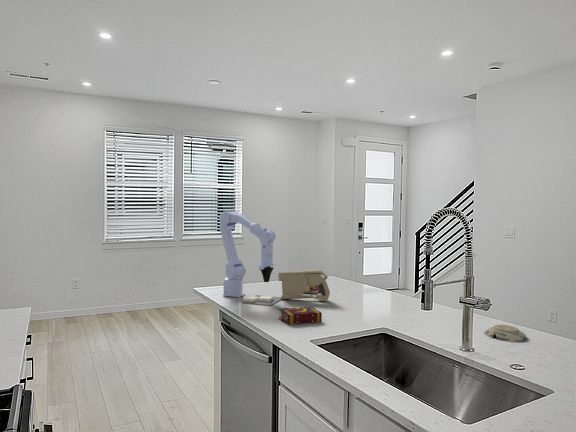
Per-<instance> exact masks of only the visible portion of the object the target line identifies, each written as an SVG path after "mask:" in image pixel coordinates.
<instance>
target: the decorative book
mask: <svg viewBox="0 0 576 432" xmlns="http://www.w3.org/2000/svg"><path fill="white" fill-rule="evenodd" d="M279 311H280V315H279V316H278V320H282V321H283V322H284V323H286V324H287V325H297V326H298V325H301V324H316V323H322V322H323V321H322V320H323V317H322V314H323V313H322V312H321V311H319V310H318V309H316V307H314V306H313V305H312V306H311V305H310V306H309V305H307V306H301V307H300V306H299V307H298V306H294V307H282V308H281V307H280V308H279Z"/></svg>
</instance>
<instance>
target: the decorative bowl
mask: <svg viewBox="0 0 576 432" xmlns="http://www.w3.org/2000/svg"><path fill="white" fill-rule="evenodd" d="M483 334H484V335H485V336H486V337H488V338H489V339H493V338H494V335H495V337H496V341H501V342H507V343H523V342H526V341H529V340H528V339H529V338H528V336H527V335H526V334H525V333H524V332H523V331H521V330H519V329H518V328H517V327H515V326H512V325H507V324H495V325H494V326H492V327H490V328H488V329H486V330H485V332H484V333H483Z"/></svg>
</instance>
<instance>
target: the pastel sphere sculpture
mask: <svg viewBox="0 0 576 432" xmlns="http://www.w3.org/2000/svg"><path fill="white" fill-rule="evenodd" d="M318 286H319V285H318ZM318 286H316V288H315V286H308V287H307V288H306V290H305V291H304V292H303V294H306V293H312V294H316V293H317V294H319V292H320V291H319V289H320V288H319V287H318ZM320 293H321V292H320Z"/></svg>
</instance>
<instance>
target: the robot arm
mask: <svg viewBox="0 0 576 432" xmlns="http://www.w3.org/2000/svg"><path fill="white" fill-rule="evenodd" d="M218 219H219V231H220V234H221V235H220V236H221V238H222V243H223V247H224V251H225V254H226V255H225V256H226V259H227V263H226V264H225V275H226V278H225V279H224V280H223V294H222V296H223V297H233V298H240V297H243V296H245V295H246V293H243V289H244V286H243V285H244V284H243V278H244V276H245V275H246V272H247V270H246V267H245V266H244V263H243V262H242V261H241V260H240V259H239V256H238V252H237V248H236V245H235V241H234V236H233V233H232V230H233V228H234V227H235V226H236V225H237V224H240V225H242V226H243V227H245V228H247V229H248V230H249V232H250V233H251V234H252V235H253V236H255V237H257V238H258V239H259V241H260V247H261V250H260V252H261V253H260V265H258V269H259V270H260V272H261V275H262V279H263V282H264V283H269V282H270V280H271V279H270V278H271V274H272V272H273V270H274V267H275V266H276V263H275V262H274V261H273V260H274V258H273V255H274V254H273V253H274V241H275V239H276V234H275V232H274V230H272V229H268V228H267V227H264V226H262V225H261V223H260V222H254V223H253V222H252V221H251V220H249V219H248V218H247V217H245V216H243V214H242V213H240V212H239V211H237V210H234V211H223V212H221V214H220V215H219V216H218ZM273 266H274V267H273Z"/></svg>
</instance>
